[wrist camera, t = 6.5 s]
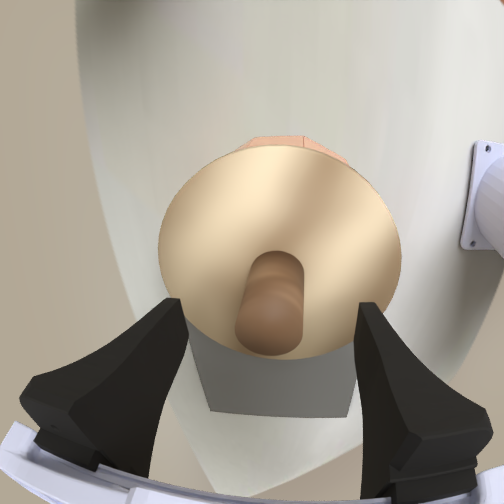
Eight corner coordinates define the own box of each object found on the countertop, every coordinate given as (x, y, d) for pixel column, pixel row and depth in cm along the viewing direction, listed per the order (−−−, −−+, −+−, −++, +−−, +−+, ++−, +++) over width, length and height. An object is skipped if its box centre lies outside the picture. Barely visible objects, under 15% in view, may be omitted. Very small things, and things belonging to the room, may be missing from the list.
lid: (431, 181, 14) (477, 225, 9) (352, 364, 20) (357, 428, 16) (169, 125, 15) (114, 148, 10) (164, 325, 21) (134, 383, 17)
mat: (368, 308, 24) (369, 313, 24) (346, 412, 31) (346, 417, 31) (182, 304, 27) (180, 309, 26) (211, 406, 34) (210, 411, 33)
